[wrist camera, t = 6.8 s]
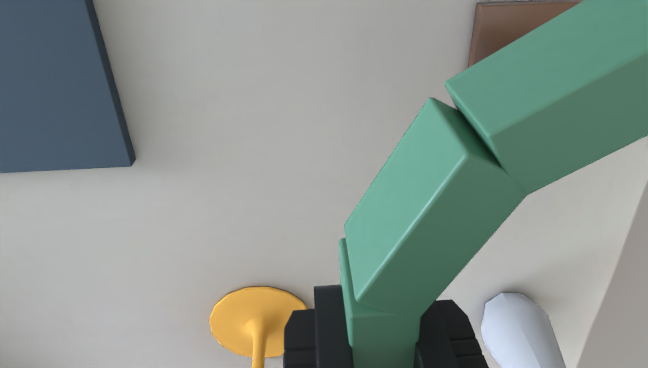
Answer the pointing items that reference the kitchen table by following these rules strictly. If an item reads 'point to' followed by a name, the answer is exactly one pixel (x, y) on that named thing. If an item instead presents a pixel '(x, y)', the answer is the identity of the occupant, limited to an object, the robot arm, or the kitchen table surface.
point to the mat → (57, 90)
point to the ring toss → (510, 23)
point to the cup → (254, 321)
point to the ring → (487, 164)
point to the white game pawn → (519, 333)
